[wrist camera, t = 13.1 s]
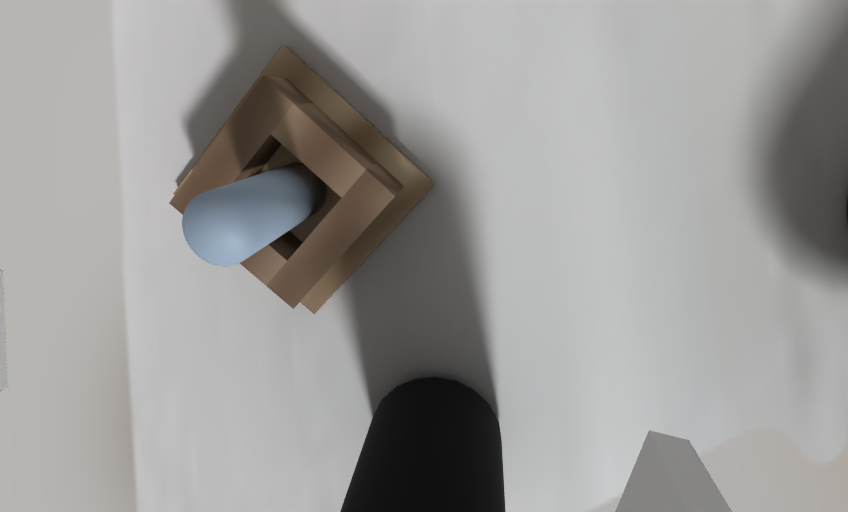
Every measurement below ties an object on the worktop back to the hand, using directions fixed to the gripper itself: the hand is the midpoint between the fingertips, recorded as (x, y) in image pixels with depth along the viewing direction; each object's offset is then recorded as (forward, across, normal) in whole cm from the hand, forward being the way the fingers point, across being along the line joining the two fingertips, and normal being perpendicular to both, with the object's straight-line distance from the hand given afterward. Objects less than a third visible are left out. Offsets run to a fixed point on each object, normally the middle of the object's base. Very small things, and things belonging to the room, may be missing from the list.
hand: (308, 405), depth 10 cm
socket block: (+29, -10, -3) cm, 30 cm away
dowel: (+28, -10, -3) cm, 30 cm away
